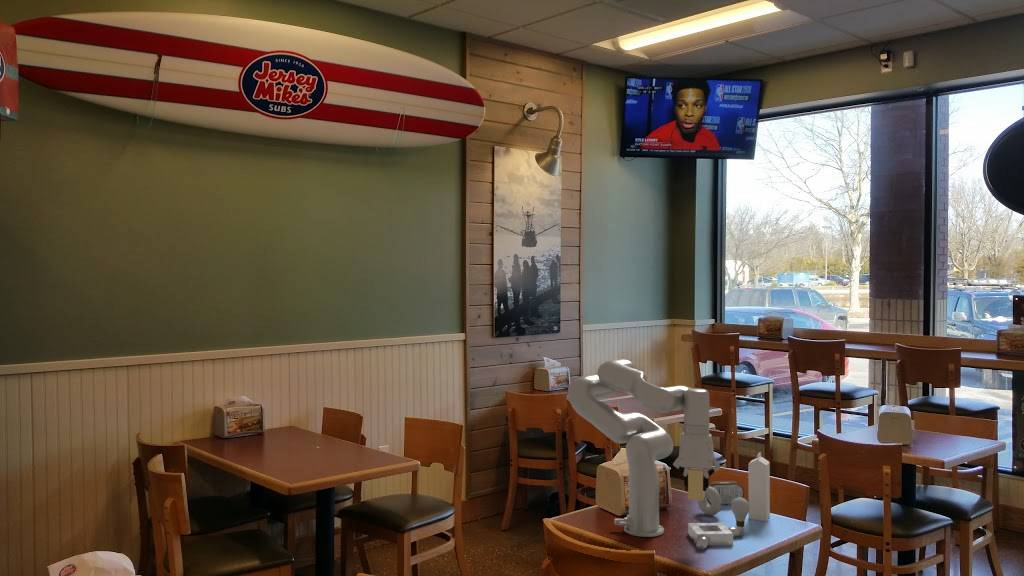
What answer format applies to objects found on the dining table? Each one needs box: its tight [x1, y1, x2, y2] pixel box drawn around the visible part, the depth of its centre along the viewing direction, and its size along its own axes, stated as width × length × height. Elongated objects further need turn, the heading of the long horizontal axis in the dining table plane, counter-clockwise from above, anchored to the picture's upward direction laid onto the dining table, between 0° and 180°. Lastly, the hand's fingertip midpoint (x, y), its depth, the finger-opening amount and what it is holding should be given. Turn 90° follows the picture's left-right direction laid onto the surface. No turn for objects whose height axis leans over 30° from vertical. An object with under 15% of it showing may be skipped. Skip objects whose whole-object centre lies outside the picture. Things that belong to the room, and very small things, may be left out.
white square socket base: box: [687, 522, 734, 546], centre depth 248 cm, size 11×11×4 cm
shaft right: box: [727, 526, 745, 538], centre depth 250 cm, size 6×3×3 cm, turn 107°
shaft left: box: [695, 536, 711, 551], centre depth 241 cm, size 6×3×3 cm, turn 152°
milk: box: [747, 452, 771, 522], centre depth 270 cm, size 6×6×22 cm
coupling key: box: [687, 468, 705, 501], centre depth 242 cm, size 4×4×9 cm
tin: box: [707, 480, 745, 506], centre depth 287 cm, size 15×3×8 cm, turn 98°
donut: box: [697, 486, 722, 517], centre depth 274 cm, size 10×4×10 cm, turn 31°
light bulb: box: [730, 497, 750, 529], centre depth 259 cm, size 6×6×10 cm
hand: (696, 488), depth 242 cm, fingers closed on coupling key, 4 cm apart
